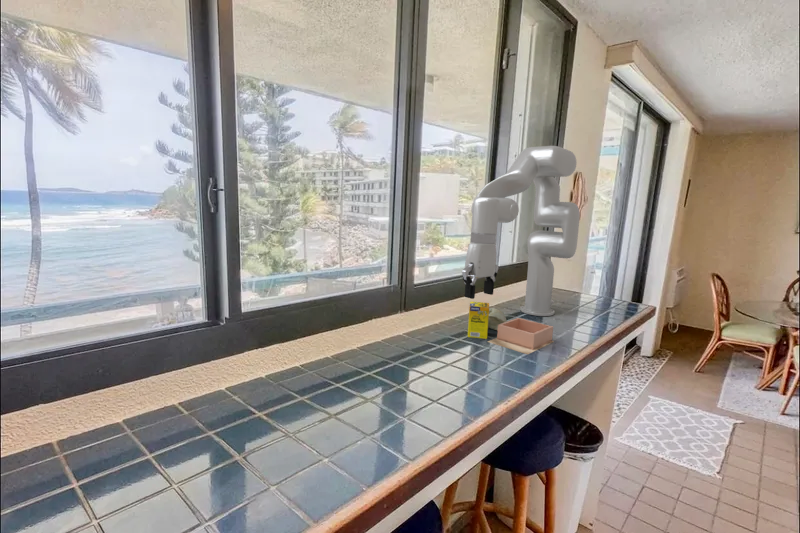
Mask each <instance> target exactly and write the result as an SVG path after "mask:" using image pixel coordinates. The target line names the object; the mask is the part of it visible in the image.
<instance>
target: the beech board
mask: <svg viewBox="0 0 800 533" xmlns="http://www.w3.org/2000/svg"><path fill="white" fill-rule="evenodd" d="M487 343H490V344H492V345H496V346H500V347H503V348H506V349H509V350H511V351H512V350H513V351H515V352H518V353H522V354H524V355H530V354H532V353H534V352H536V351H539V350H540V349H542V348H545V347H547V346H549V345H551V344H552V343H555V341H554V340H552V341H551V342H549V343H547V344H545V345H542V346H540V347H538V348H536V349H534V350H531V349H528V348H524V347H521V346H518V345H515V344H511V343H508V342H505V341H502V340H498V339H497V337H495V338H493V339H490V340H488V341H487Z"/></svg>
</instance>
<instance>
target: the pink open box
mask: <svg viewBox="0 0 800 533" xmlns="http://www.w3.org/2000/svg"><path fill="white" fill-rule="evenodd" d="M553 334H554V326H553V325H548V324H545V323H540V322H537V321H533V320H529V319H525V318H521V317H515V318H514V319H510V320H507V322H504V323H501V324H499V325H498V331H497V334H496V336H497V337H496V338H497V339H498V340H502V341H505V342H508V343H511V344H515V345H518V346H521V347H524V348H528V349H531V350H534V349H536V348H538V347H540V346H542V345H545V344H547V343H549V342H551V341H553Z"/></svg>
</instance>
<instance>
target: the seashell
mask: <svg viewBox="0 0 800 533" xmlns="http://www.w3.org/2000/svg"><path fill="white" fill-rule="evenodd" d="M507 321H508V320H507V318H506V315H505V314H504V313H503V311H501V310H500V309H497V308H494V307H489V318H488V329H491V330H495V331H497V332H498V325H499V324H501V323H504V322H507Z"/></svg>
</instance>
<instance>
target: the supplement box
mask: <svg viewBox="0 0 800 533" xmlns="http://www.w3.org/2000/svg"><path fill="white" fill-rule="evenodd" d="M489 308H490V303H489V302H484V301H483V302H479V301H469V308H468V325H467V337H468V338H473V339H476V338H477V339H483V340H484V339H485V340H487V339H488V331H489V330H488V329H489V328H488V318H489Z"/></svg>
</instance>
